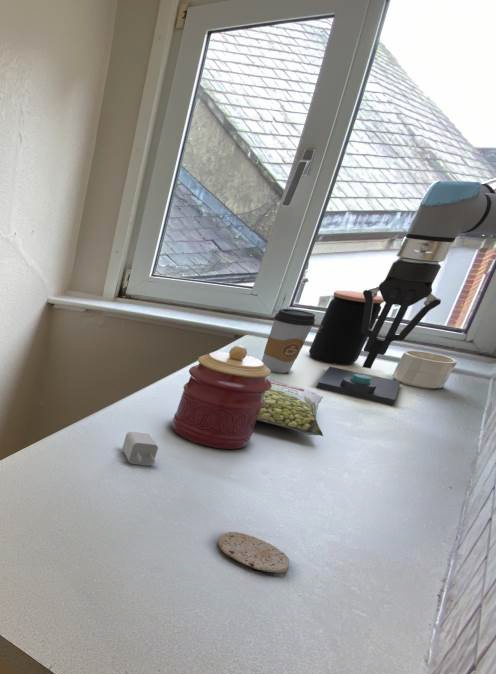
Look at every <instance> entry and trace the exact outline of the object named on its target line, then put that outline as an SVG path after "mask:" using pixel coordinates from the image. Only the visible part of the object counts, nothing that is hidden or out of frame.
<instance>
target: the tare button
mask: <svg viewBox="0 0 496 674" xmlns="http://www.w3.org/2000/svg"><path fill="white" fill-rule="evenodd" d="M370 380H371V377H369V376H366V375H362V374H354V375H353V377H352V380H351V381H352V382H355V383H358V384H364V385H369V382H370Z"/></svg>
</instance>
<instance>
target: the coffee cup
mask: <svg viewBox="0 0 496 674" xmlns="http://www.w3.org/2000/svg"><path fill="white" fill-rule="evenodd" d="M315 317H316V314H315V313H313V312H311V311H306V310H302V309H301V310H300V309H294V308H293V309H292V308H280V309H279V311H278V312H276V314H275V316H274V317H273V322H272V325H271V329H270V332H269V335H268V338H267V341H266V344H265V347H264V351H263V354H262V359H261V361H262V362H263V363H264V365H265V366H266V367H268V368H269V369H270V370H271V373H279V374H287V373H288V372H290V371H291V369H292V367H293V365H294V363H295V361H296V359H297V358H298V356H299V354H300V352H301V351H302V349H303V346H304V344H305V342H306V340H307V337H308V335H309V334H310V333H311V330H312V328H313V326H314V325H315V322H316V319H315Z"/></svg>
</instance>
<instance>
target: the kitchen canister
mask: <svg viewBox="0 0 496 674" xmlns="http://www.w3.org/2000/svg"><path fill="white" fill-rule="evenodd" d="M197 361H198V364H195V365H193V366H191V367H190V368H189V369H188V373H189V375H190V377H189V379H188V381H187V382H186V383H185V384H183V390H182V393H181V398H180V400H179V403H178V406H177V409H176V412H175V413H174V415H173V418H172V429H173V430H174V431H175V433H176V434H178V435H179V436H181V437H182V438H184V439H187V440H188V441H191V442H193V443H195V444H198V445H202V446H206V447H210V448H215V449H223V450H236V449H241V448H244V447H245V446H247V444H248V442H249V441H250V440H251V439H252V435H253V430H254V428H255V425H256V423H257V421H258V420H257V418H258V416H259V413H260V411H261V408H262V407H263V406H264V404H265V401H264V399H263V398H264V394H265V392H266V391H268V390H269V389H270V388H271V387H272V385H271V383H270V381H271V380H269V379H268V378H267V377H269V376H270V375H271V374H272V372H271V370H270V369H269V368H268V367H266V366H265V365H264V363H263V362H262V360H260V359H259V358H256V357H253V356H250V355H248V350H247V348H246V347H245V346H243V345H235V346H233V347H231V348H230V350H229V351H219V350H218V351H212V352H210V353H207V354H204V355H200V356H199V357H198V358H197Z"/></svg>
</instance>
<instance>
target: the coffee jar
mask: <svg viewBox="0 0 496 674" xmlns="http://www.w3.org/2000/svg"><path fill="white" fill-rule="evenodd" d="M383 303H385V302H384V300H383V297H382V295H378V294H377V296H376V297H374V302H373V308H372V315H371V322H370V329H371V330H373V328H374V326H375V324H376V322H377V320H378V318H379V315H380V313H381V311H382V306H381V304H383ZM364 308H365V298H364V295H363V291H353V290H335V291H334V292H333V298H332V299H331V300H330V301H329V303H328V305H327V308H326V310H325V313H324V315H323V317H322V320H321V322H320V324H319V326H318V329H317V332H316V334H315V336H314V338H313V341H312V343H311V345H310V348H309V350H308V353H309V356H310V358H312V359H313V360H316V361H318V362H322V363H327V364H333V365H337V366H338V365H340V366H351V365H352V364H354V363H356V362H357V361H358V359H359V357H360V355H361V352H362V351H363V349H364V347H365V345H366V343H367V341H368V339H369V337H368V336H367V335H365V334H362V333H361V329H362V322H363V315H364Z"/></svg>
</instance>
